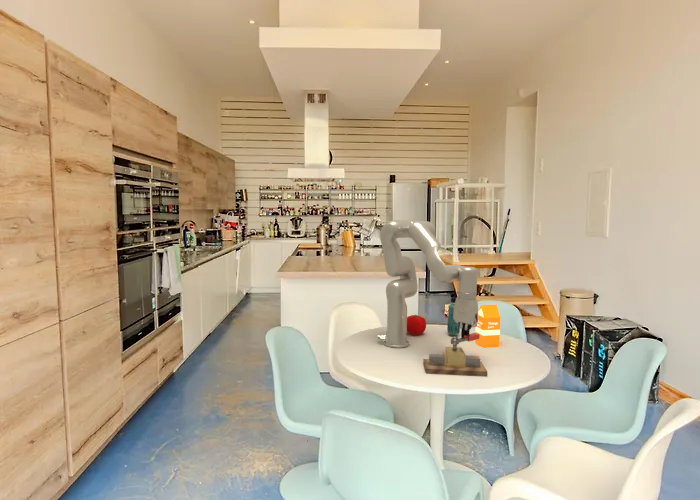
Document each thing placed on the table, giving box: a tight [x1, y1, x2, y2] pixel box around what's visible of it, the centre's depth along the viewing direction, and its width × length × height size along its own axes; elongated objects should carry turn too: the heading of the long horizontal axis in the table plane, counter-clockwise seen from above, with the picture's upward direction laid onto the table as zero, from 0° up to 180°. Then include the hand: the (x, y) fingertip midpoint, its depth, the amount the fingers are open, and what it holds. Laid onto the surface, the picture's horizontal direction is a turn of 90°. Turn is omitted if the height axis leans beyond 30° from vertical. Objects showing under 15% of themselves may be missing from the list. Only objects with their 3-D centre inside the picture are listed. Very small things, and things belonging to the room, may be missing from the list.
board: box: [422, 358, 488, 377], centre depth 180 cm, size 24×12×2 cm, turn 85°
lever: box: [450, 332, 480, 346], centre depth 183 cm, size 3×16×3 cm, turn 127°
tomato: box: [407, 314, 427, 336], centre depth 233 cm, size 12×12×10 cm
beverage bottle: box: [446, 297, 461, 335], centre depth 230 cm, size 6×7×20 cm
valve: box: [428, 344, 481, 368], centre depth 180 cm, size 20×6×9 cm, turn 85°
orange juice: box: [474, 304, 502, 349], centre depth 214 cm, size 8×9×20 cm
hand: (465, 338), depth 188 cm, fingers closed
